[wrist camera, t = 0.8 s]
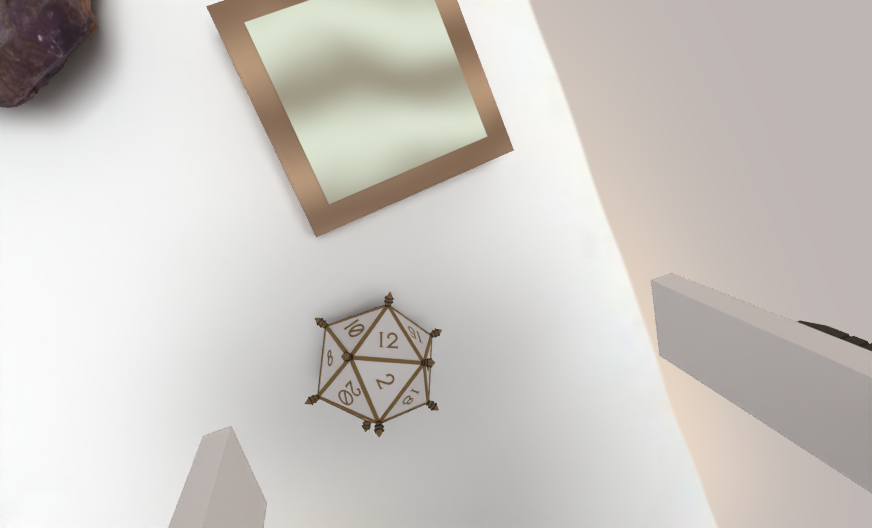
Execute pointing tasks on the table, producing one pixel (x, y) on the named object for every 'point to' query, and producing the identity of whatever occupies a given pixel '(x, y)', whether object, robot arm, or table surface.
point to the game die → (375, 365)
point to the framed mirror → (363, 97)
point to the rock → (38, 43)
